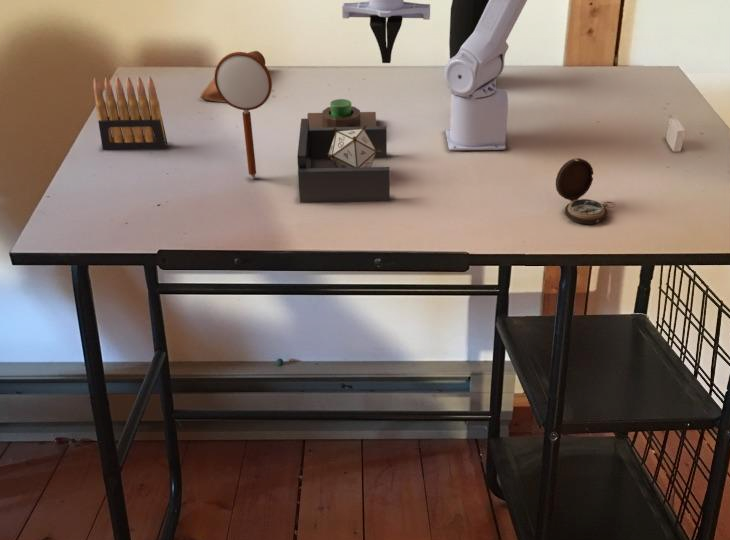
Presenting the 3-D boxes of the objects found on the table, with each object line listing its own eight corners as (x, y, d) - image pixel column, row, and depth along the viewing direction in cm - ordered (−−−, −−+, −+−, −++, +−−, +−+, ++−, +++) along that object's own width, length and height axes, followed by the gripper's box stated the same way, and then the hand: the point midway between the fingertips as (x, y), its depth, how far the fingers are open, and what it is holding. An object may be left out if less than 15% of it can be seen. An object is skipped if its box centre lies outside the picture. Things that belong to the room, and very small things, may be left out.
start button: (351, 110, 162) (351, 98, 161) (351, 118, 159) (351, 106, 158) (331, 110, 162) (330, 99, 161) (330, 118, 159) (330, 107, 158)
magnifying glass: (225, 180, 148) (209, 53, 136) (228, 175, 150) (212, 49, 137) (278, 183, 147) (267, 55, 135) (280, 178, 149) (270, 51, 136)
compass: (579, 229, 135) (586, 182, 131) (550, 205, 141) (556, 160, 136) (625, 218, 138) (633, 172, 133) (595, 195, 143) (602, 150, 139)
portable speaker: (502, 88, 178) (510, -20, 166) (456, 93, 176) (460, -16, 164) (487, 73, 184) (494, -33, 172) (442, 77, 182) (445, -29, 170)
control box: (375, 120, 166) (375, 101, 164) (376, 141, 159) (376, 122, 157) (308, 122, 166) (307, 102, 164) (306, 143, 159) (305, 123, 157)
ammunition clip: (167, 144, 159) (156, 74, 151) (166, 149, 158) (154, 78, 150) (104, 145, 159) (90, 75, 151) (102, 150, 157) (87, 79, 150)
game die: (360, 202, 150) (367, 172, 140) (313, 178, 150) (316, 147, 140) (384, 158, 153) (392, 126, 143) (337, 135, 153) (343, 101, 143)
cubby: (386, 154, 155) (386, 114, 151) (389, 200, 142) (389, 157, 138) (304, 156, 155) (301, 115, 151) (299, 202, 142) (296, 159, 138)
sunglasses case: (224, 64, 187) (238, 36, 183) (255, 84, 189) (269, 56, 185) (198, 98, 173) (212, 68, 169) (231, 119, 175) (246, 90, 171)
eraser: (673, 151, 156) (677, 130, 153) (665, 139, 159) (669, 118, 157) (680, 151, 156) (685, 130, 153) (672, 139, 159) (677, 118, 157)
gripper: (339, -17, 149) (342, 68, 157) (430, -16, 148) (428, 70, 157) (343, -29, 154) (346, 54, 163) (431, -28, 154) (429, 55, 162)
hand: (386, 61), depth 160 cm, fingers closed
